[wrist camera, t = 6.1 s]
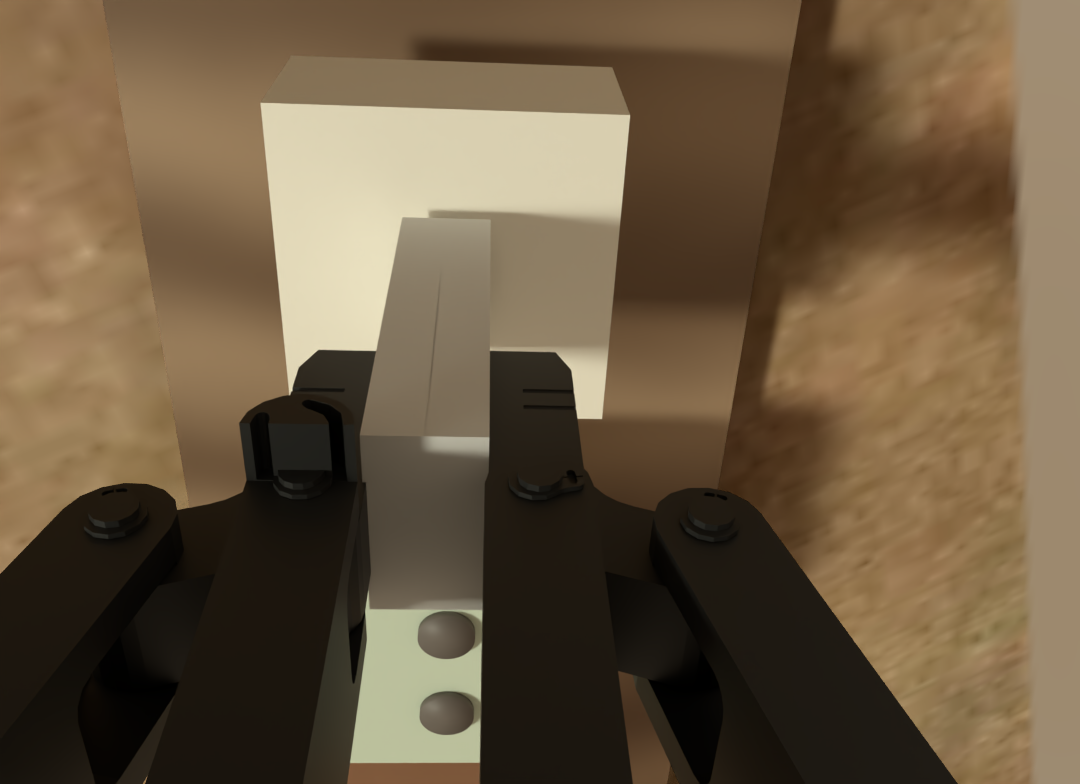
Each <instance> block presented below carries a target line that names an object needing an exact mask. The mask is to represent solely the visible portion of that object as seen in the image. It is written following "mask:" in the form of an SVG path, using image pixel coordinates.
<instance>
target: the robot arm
mask: <svg viewBox="0 0 1080 784" xmlns="http://www.w3.org/2000/svg"><path fill="white" fill-rule="evenodd" d="M490 230H491V220H487V219H451V218H415V217H402V221H401V226H400V231H399V237H398V242H397V247H396V252H395V257H394V262H393V267H392V272H391V278H390V283H389V288H388V293H387V298H386V303H385V308H384V313H383V319H382V324H381V329H380V334H379V339H378V344H377V349H376V351H355V350H318V351H317V352H315V353H314V354H313V355H312V356H311V357H310V358H309V359H308V360H306V361H305V362H304V363H303V364H302V365H301V366H300V367H299V368H298V371H297V375H296V378H295V381H294V384H293V387H292V391H291V394H290V395H286V396H281V397H278V398H274V399H271V400H268V401H264V402H262V403H261V404H259V405H257V406H256V407H254V408H252V409H251V410H249V411H248V412H247V413H246V414H245V416H244V417H243V418H242V420H241V421H240V422H239V427H240V435H241V443H242V450H243V458H244V466H245V473H246V483H245V486H244V489H243V492H241V493H239V494H237V495H235V496H233V497H230V498H228V499H226V500H222V501H218V502H214V503H211V504H207V505H201V506H196V507H191V508H186V509H181V510H177V507H176V502H175V499H174V498H173V497H171V496H170V495H169V494H168V493H167V492H166V491H165V490H163V489H160V488H157V487H154V486H151V485H148V484H133V483H123V484H118V485H112V486H107V487H102V488H99V489H97V490H94V491H92V492H89V493H87V494H85V495H82V496H80V497H79V498H77V499H76V500H75V501H73V502H72V503H71V504H69V505H68V506H67V507H65V508H64V509H63V510H62V511H61V512H60V513H59V514H58V515H57V516H56V517H55V518H54V519H53V520H52V521H51V522H50V523H49V524H48V525H47V526H46V527H45V528H44V529H43V530H42V531H41V532H40V534H39V535H38V536H37V537H36V538H35V539H34V540H33V541H32V542H31V543H30V544H29V545H28V546H27V547H26V548H25V549H24V550H23V551H22V552H21V553H20V554H19V555H18V556H17V557H16V558H15V559H14V560H13V561H12V562H11V563H10V564H9V566H8V567H7V568H6V569H5V570H4V571H3V572H2V573H1V574H0V784H143V782H144V780H145V779H146V777H147V776H148V777H147V780H146V783H145V784H347V781H348V774H349V767H350V760H351V752H352V745H353V738H354V731H355V723H356V716H357V709H358V702H359V694H360V687H361V680H362V673H363V665H364V658H365V651H366V644H367V631H366V614H365V609H366V602H367V596H368V590H369V607H370V609H385V610H482V650H481V714H480V774H479V784H633V780H632V772H631V765H630V757H629V750H628V742H627V735H626V727H625V720H624V712H623V704H622V697H621V689H620V682H619V674H618V671H620V672H624V673H627V674H631V675H633V678H634V683H635V688H636V691H637V693H638V695H639V697H640V699H641V702H642V704H643V706H644V708H645V710H646V712H647V715H648V717H649V719H650V721H651V723H652V725H653V728H654V730H655V732H656V734H657V736H658V738H659V741H660V743H661V745H662V747H663V749H664V751H665V754H666V756H667V758H668V760H669V762H670V764H671V766H672V769H673V771H674V773H675V775H676V777H677V779H678V782H679V784H958V783H957V782H956V781H955V779H954V778H953V777H952V775H951V774H950V772H949V771H948V770H947V768H946V767H945V766H944V764H943V763H942V761H941V760H940V759H939V757H938V756H937V755H936V753H935V752H934V751H933V749H932V748H931V746H930V745H929V744H928V742H927V741H926V740H925V738H924V737H923V735H922V734H921V733H920V731H919V730H918V729H917V727H916V726H915V724H914V723H913V722H912V720H911V719H910V718H909V716H908V715H907V713H906V712H905V711H904V709H903V708H902V707H901V705H900V704H899V702H898V701H897V700H896V698H895V697H894V696H893V694H892V693H891V691H890V690H889V689H888V687H887V686H886V685H885V683H884V682H883V680H882V679H881V678H880V676H879V675H878V674H877V672H876V671H875V669H874V668H873V667H872V665H871V664H870V663H869V661H868V660H867V658H866V657H865V656H864V654H863V653H862V652H861V650H860V649H859V647H858V646H857V645H856V643H855V642H854V641H853V639H852V638H851V636H850V635H849V634H848V632H847V631H846V630H845V628H844V627H843V625H842V624H841V623H840V621H839V620H838V619H837V617H836V616H835V614H834V613H833V612H832V610H831V609H830V608H829V606H828V605H827V604H826V602H825V601H824V599H823V598H822V597H821V595H820V594H819V593H818V591H817V590H816V588H815V587H814V586H813V584H812V583H811V582H810V580H809V579H808V577H807V576H806V575H805V573H804V572H803V571H802V569H801V568H800V566H799V565H798V564H797V562H796V561H795V560H794V558H793V557H792V555H791V554H790V553H789V551H788V550H787V549H786V547H785V546H784V544H783V543H782V542H781V540H780V539H779V538H778V536H777V535H776V533H775V532H774V531H773V529H772V528H771V527H770V525H769V524H768V522H767V521H766V520H765V518H764V517H763V516H762V514H761V513H760V512H759V511H758V510H757V509H756V508H754V507H753V506H752V505H751V504H750V503H749V502H748V501H746V500H744V499H742V498H740V497H738V496H736V495H734V494H732V493H730V492H726V491H721V490H717V489H712V488H686V489H683V490H680V491H676V492H673V493H670V494H669V495H667V496H666V497H665V498H664V499H662V500H661V501H660V502H658V505H657V507H656V510H655V511H652V510H647V509H643V508H639V507H634V506H631V505H628V504H625V503H621V502H618V501H616V500H614V499H612V498H610V497H608V496H606V495H605V494H603V493H602V492H601V491H599V490H598V489H597V488H596V487H594V485H593V482H592V480H591V478H590V476H589V474H588V472H587V471H586V470H585V469H584V466H583V458H582V450H581V442H580V434H579V426H578V418H577V410H576V403H575V395H574V387H573V379H572V371H571V369H570V368H569V367H568V366H567V365H566V363H565V362H564V361H563V360H562V359H561V358H560V357H559V356H558V355H557V353H556V352H524V351H490Z"/></svg>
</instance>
